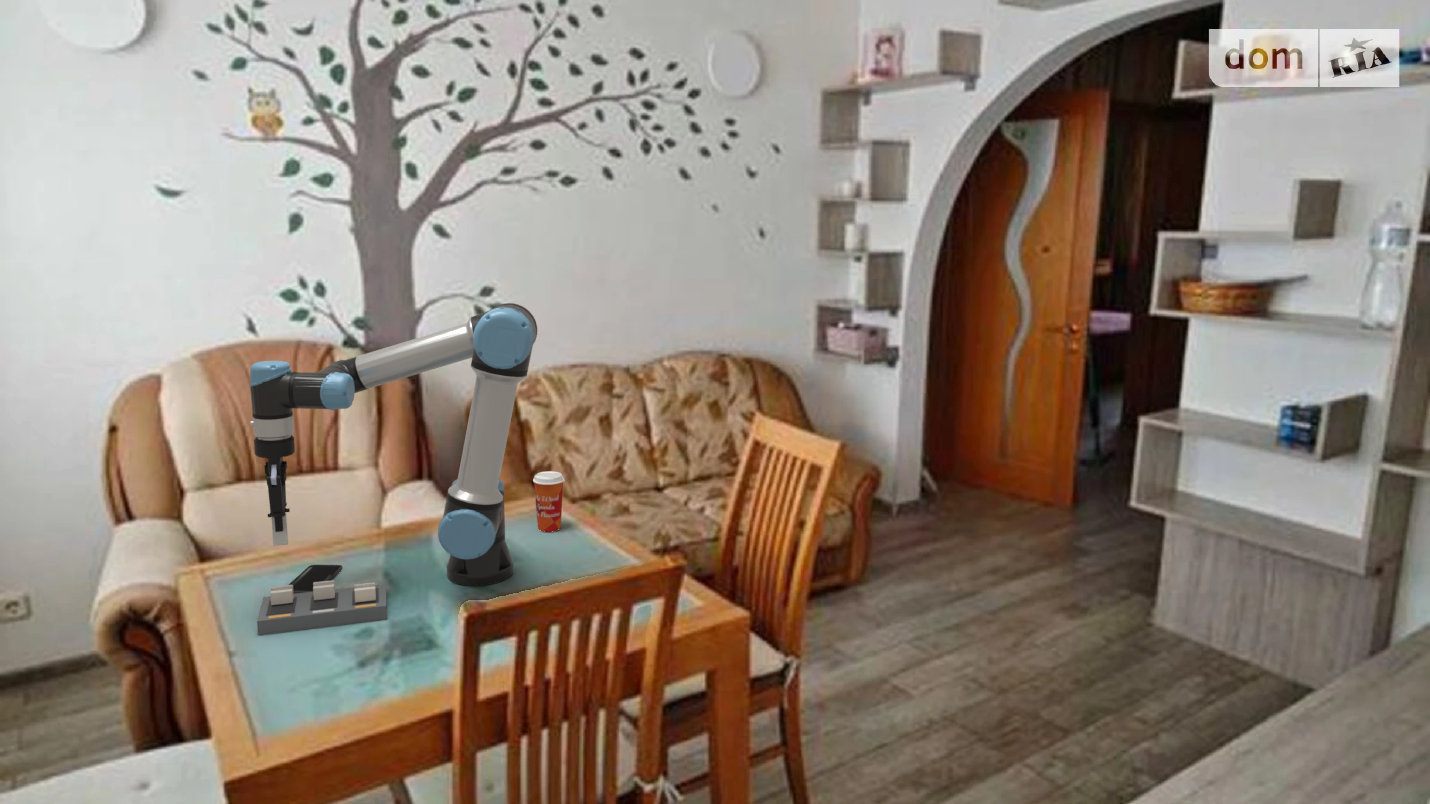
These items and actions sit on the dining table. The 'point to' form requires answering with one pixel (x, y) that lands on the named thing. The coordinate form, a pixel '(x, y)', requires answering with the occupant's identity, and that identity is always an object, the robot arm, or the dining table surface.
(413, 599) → the dining table surface
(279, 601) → the switch tab
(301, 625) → the switch board
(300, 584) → the phone
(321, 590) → the switch tab
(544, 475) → the coffee cup
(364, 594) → the switch tab
